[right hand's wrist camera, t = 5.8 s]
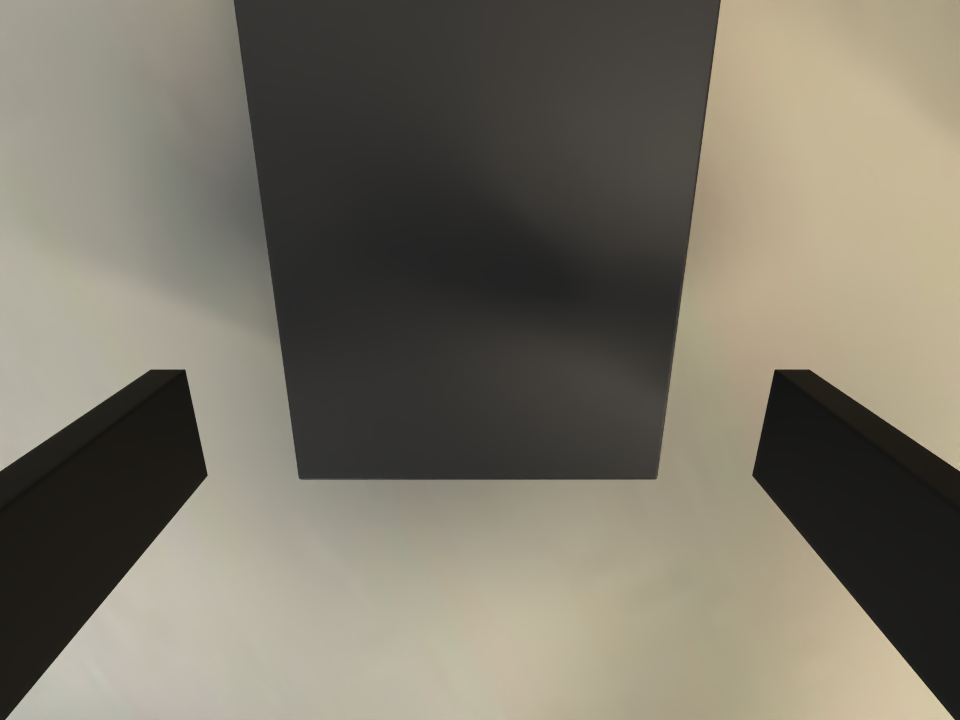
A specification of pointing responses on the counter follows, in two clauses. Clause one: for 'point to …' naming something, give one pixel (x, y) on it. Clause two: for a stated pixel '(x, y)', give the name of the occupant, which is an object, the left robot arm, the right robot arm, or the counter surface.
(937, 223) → the counter surface
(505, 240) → the cabinet
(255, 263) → the counter surface
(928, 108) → the counter surface
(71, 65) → the counter surface
